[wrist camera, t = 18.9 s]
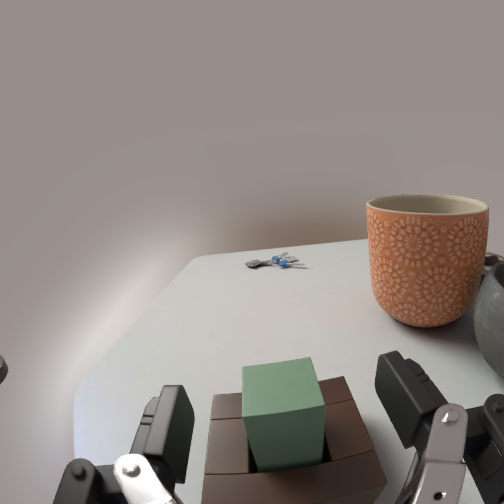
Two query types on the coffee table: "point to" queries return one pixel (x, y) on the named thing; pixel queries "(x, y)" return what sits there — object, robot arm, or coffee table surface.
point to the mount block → (300, 479)
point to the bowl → (491, 317)
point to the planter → (426, 255)
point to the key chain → (281, 261)
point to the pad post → (283, 414)
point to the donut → (490, 263)
